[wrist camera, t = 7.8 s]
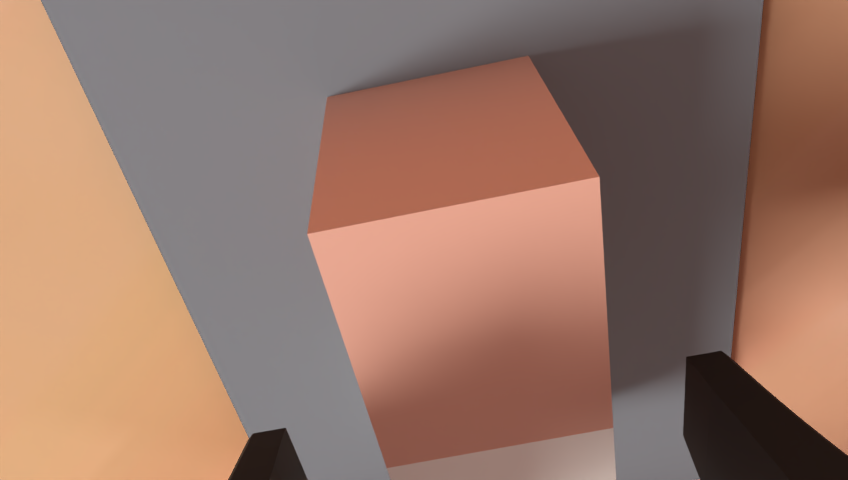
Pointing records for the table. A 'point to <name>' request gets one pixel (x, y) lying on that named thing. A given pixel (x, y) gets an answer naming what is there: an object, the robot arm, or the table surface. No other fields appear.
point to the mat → (396, 62)
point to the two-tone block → (468, 275)
